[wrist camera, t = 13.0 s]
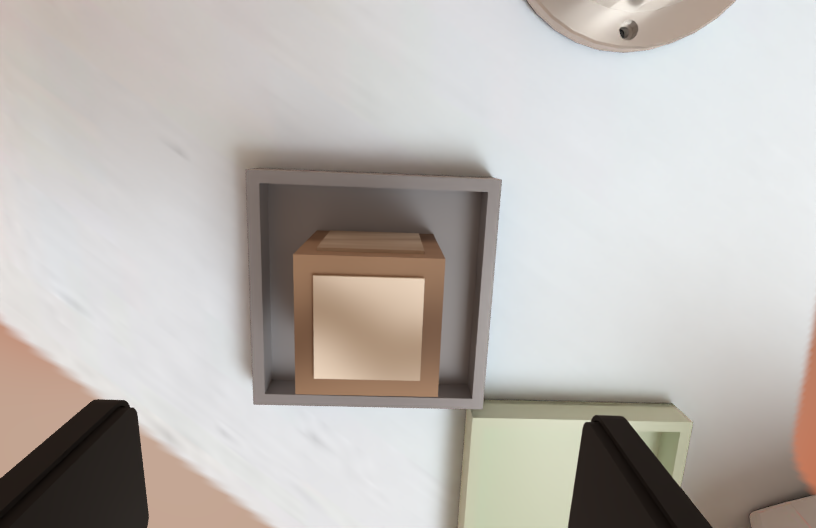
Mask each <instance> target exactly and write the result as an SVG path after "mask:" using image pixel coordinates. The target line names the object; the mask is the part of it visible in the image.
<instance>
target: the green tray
mask: <svg viewBox="0 0 816 528" xmlns="http://www.w3.org/2000/svg"><path fill="white" fill-rule="evenodd" d="M595 415H611V416H623V417H624V418H626V419H627V421H628V422H629V423H630V425H631V426H632V427H633V428H634V430H635V431H636V432H637V433H638V435H639V436H640V437H641V438H642V440H643V441H644V442H645V443H646V445H647V446H648V447H649V448H650V450H651V451H652V452H653V453H654V455H655V456H656V457H657V458H658V460H659V461H660V462H661V464H662V465H663V466H664V467H665V469H666V470H667V471H668V472H669V474H670V475H671V476H672V477H673V479H674V480H675V481H676V482H677V484H678V485H679V486H680V487H681V484H682V478H683V473H684V468H685V463H686V458H687V452H688V447H689V442H690V437H691V431H692V426H693V422H692V421H691V420H690V419H689V418H688V417H687V416H686V415H684V414H683V413H682V412H681V411H680V410H679V409H678V408H677V407H676V406H674V405H673V404H664V403H619V402H575V401H531V400H486V399H484V400H483V409H466V420H465V434H464V447H463V460H462V474H461V487H460V500H459V514H458V527H457V528H568V522H569V515H570V509H571V502H572V495H573V489H574V482H575V475H576V469H577V462H578V455H579V449H580V442H581V435H582V429H583V425H584V423H585V422H591V419H592V418H593V416H595Z"/></svg>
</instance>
